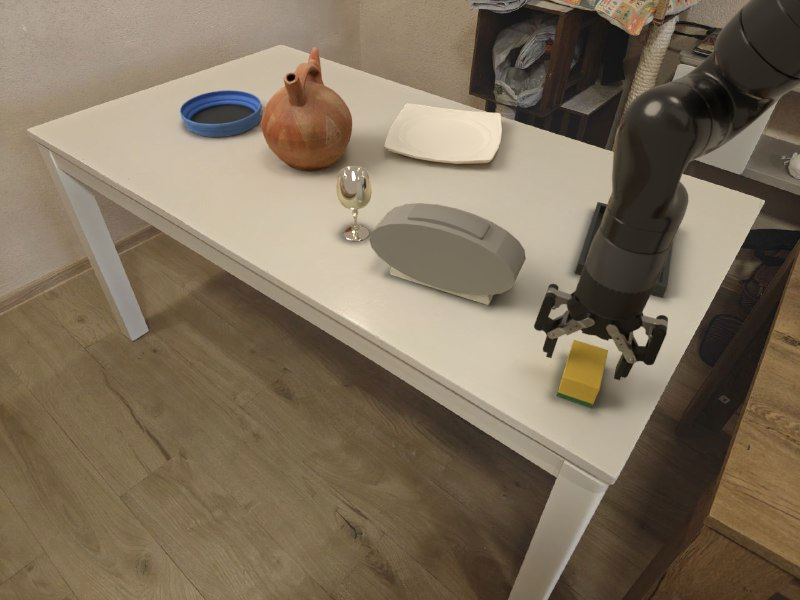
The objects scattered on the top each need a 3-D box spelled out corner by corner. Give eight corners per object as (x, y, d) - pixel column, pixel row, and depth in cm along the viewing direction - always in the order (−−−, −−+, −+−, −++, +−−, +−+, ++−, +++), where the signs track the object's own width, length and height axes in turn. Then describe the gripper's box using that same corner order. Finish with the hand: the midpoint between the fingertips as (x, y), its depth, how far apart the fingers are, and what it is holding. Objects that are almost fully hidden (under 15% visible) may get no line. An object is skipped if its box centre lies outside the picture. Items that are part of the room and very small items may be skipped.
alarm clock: (519, 289, 86) (534, 222, 77) (508, 314, 82) (522, 246, 73) (386, 250, 93) (386, 184, 84) (370, 271, 89) (367, 204, 80)
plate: (494, 175, 111) (496, 163, 109) (377, 160, 114) (377, 148, 113) (504, 122, 128) (506, 111, 126) (402, 111, 132) (403, 100, 130)
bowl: (205, 101, 135) (202, 86, 132) (274, 108, 132) (272, 94, 130) (168, 134, 122) (164, 119, 119) (244, 143, 119) (241, 127, 117)
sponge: (567, 358, 76) (573, 339, 73) (600, 369, 74) (608, 349, 71) (556, 396, 71) (563, 376, 68) (591, 408, 70) (599, 388, 67)
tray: (594, 211, 102) (597, 201, 100) (671, 229, 98) (675, 219, 96) (574, 273, 89) (577, 263, 87) (662, 297, 85) (667, 287, 83)
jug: (289, 131, 123) (277, 38, 110) (365, 143, 120) (362, 48, 106) (252, 172, 110) (232, 72, 97) (336, 186, 107) (328, 84, 93)
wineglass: (354, 220, 99) (350, 160, 91) (379, 231, 96) (378, 171, 88) (333, 235, 95) (327, 174, 87) (358, 247, 93) (355, 186, 85)
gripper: (548, 269, 58) (521, 366, 69) (690, 308, 54) (637, 405, 65) (562, 231, 63) (535, 327, 74) (693, 264, 59) (643, 361, 70)
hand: (583, 363), depth 70 cm, fingers open, 8 cm apart
